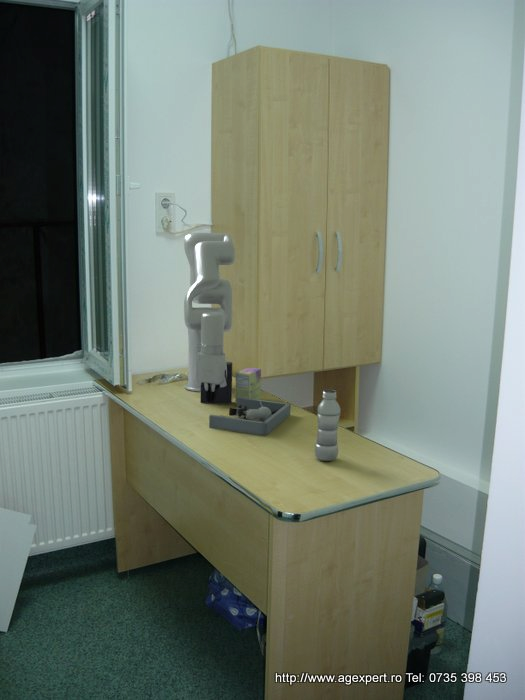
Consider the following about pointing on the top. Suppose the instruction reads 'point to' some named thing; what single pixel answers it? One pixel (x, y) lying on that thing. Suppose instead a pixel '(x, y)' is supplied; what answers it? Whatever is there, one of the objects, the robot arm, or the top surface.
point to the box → (248, 384)
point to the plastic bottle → (327, 427)
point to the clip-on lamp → (252, 413)
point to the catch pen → (250, 425)
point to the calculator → (221, 390)
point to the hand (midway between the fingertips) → (211, 401)
